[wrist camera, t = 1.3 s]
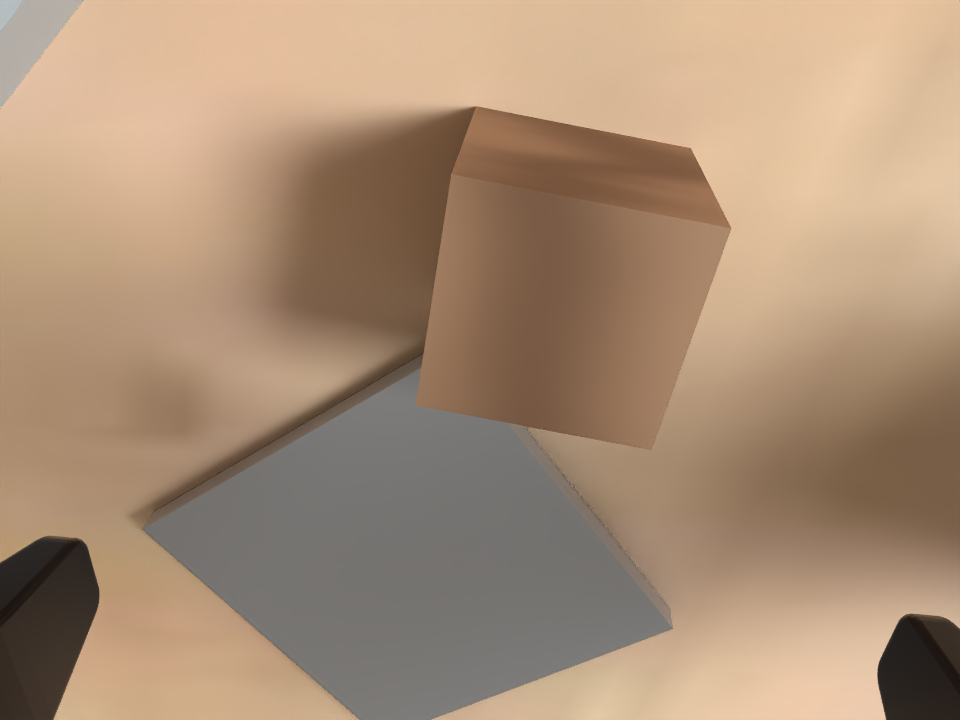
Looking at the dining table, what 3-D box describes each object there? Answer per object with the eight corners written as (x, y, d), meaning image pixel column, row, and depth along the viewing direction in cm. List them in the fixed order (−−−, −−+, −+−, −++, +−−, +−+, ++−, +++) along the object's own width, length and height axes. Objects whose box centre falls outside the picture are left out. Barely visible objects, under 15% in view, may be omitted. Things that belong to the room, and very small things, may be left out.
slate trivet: (670, 608, 26) (672, 628, 25) (385, 718, 30) (381, 737, 29) (452, 336, 21) (448, 351, 20) (153, 511, 25) (142, 529, 25)
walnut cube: (689, 147, 18) (731, 228, 14) (631, 333, 21) (651, 450, 16) (476, 105, 18) (451, 173, 14) (444, 297, 21) (415, 405, 16)
